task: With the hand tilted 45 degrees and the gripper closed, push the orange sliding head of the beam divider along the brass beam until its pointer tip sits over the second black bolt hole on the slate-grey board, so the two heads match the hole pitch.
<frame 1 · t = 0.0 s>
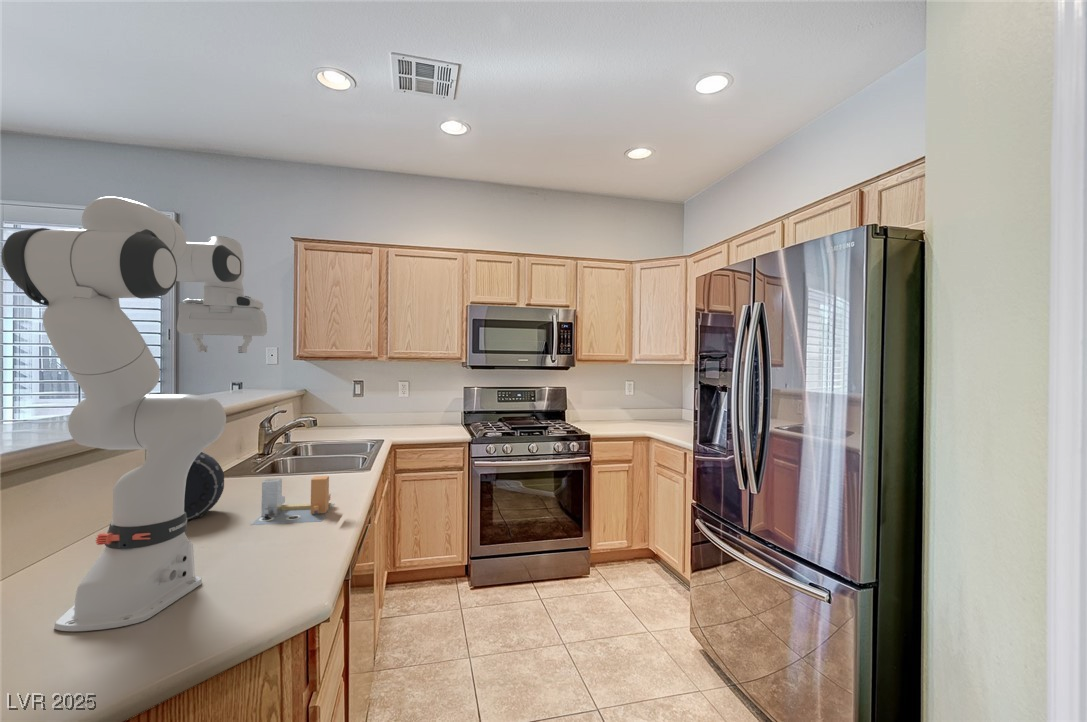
hand: (222, 352, 125), 48 cm above the countertop, tool pointing down, fingers open, 8 cm apart
sliding head: (320, 493, 142), point 6 cm above the countertop, slide at 0.0 cm
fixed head: (271, 514, 138), resting on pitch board
dark rounded piece: (181, 521, 135), on the countertop
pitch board: (295, 517, 139), on the countertop
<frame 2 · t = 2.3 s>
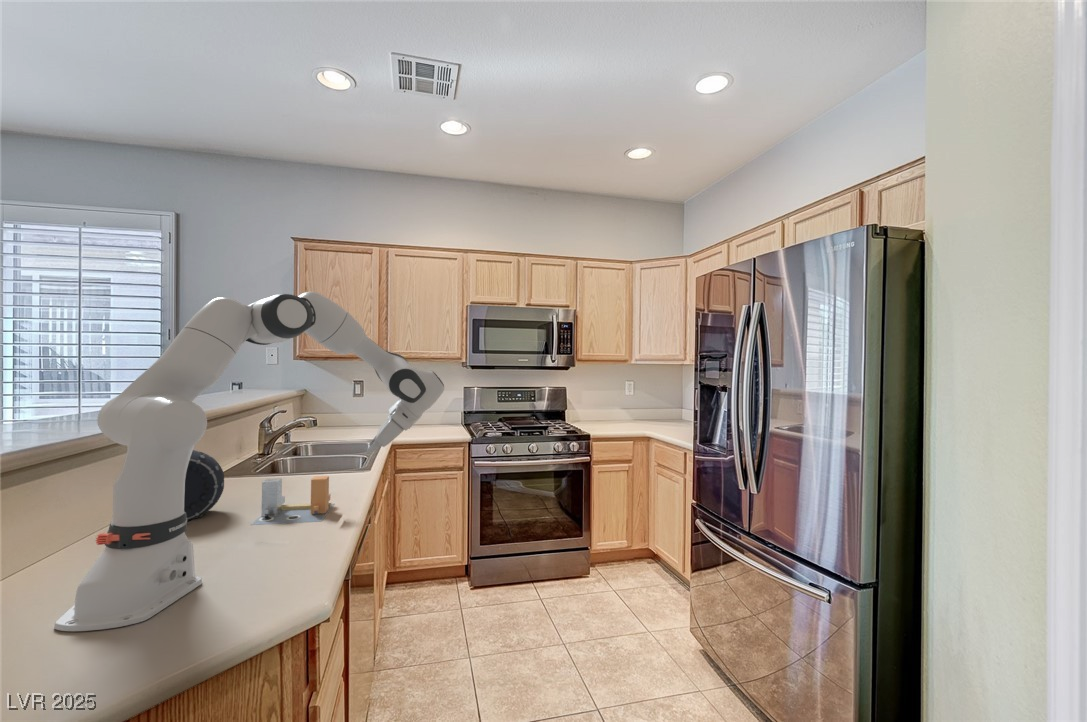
hand: (369, 448, 145), 20 cm above the countertop, tool tilted 45°, fingers open, 8 cm apart
nothing on the countertop moved.
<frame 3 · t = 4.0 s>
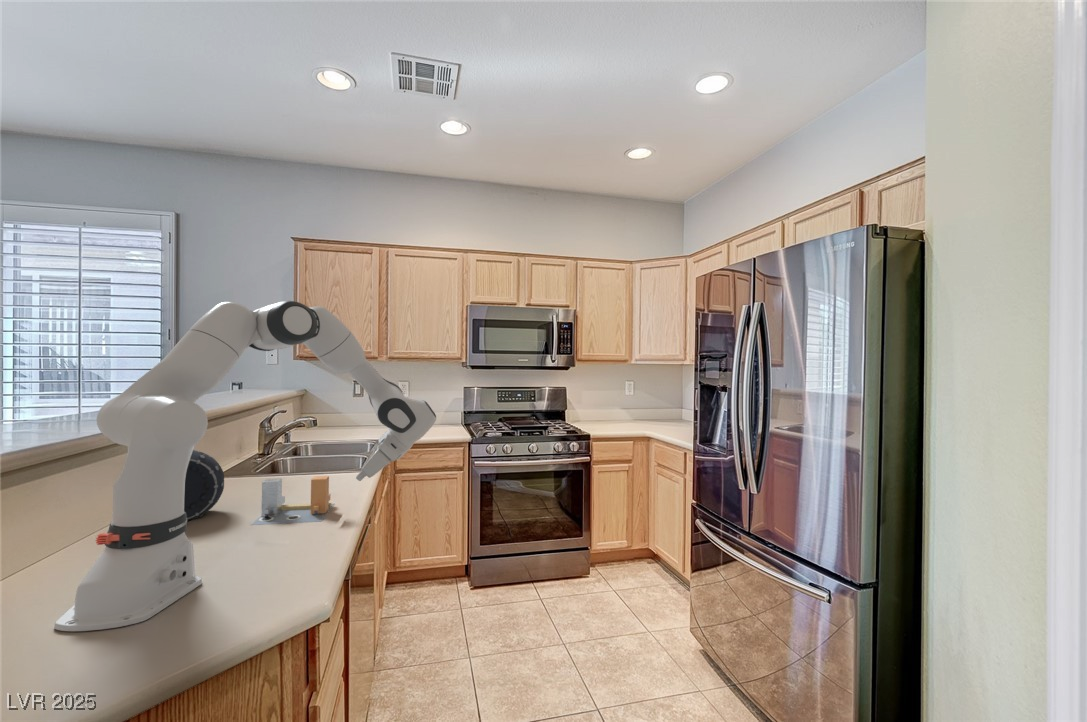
hand: (358, 478, 143), 11 cm above the countertop, tool tilted 45°, fingers closed
nothing on the countertop moved.
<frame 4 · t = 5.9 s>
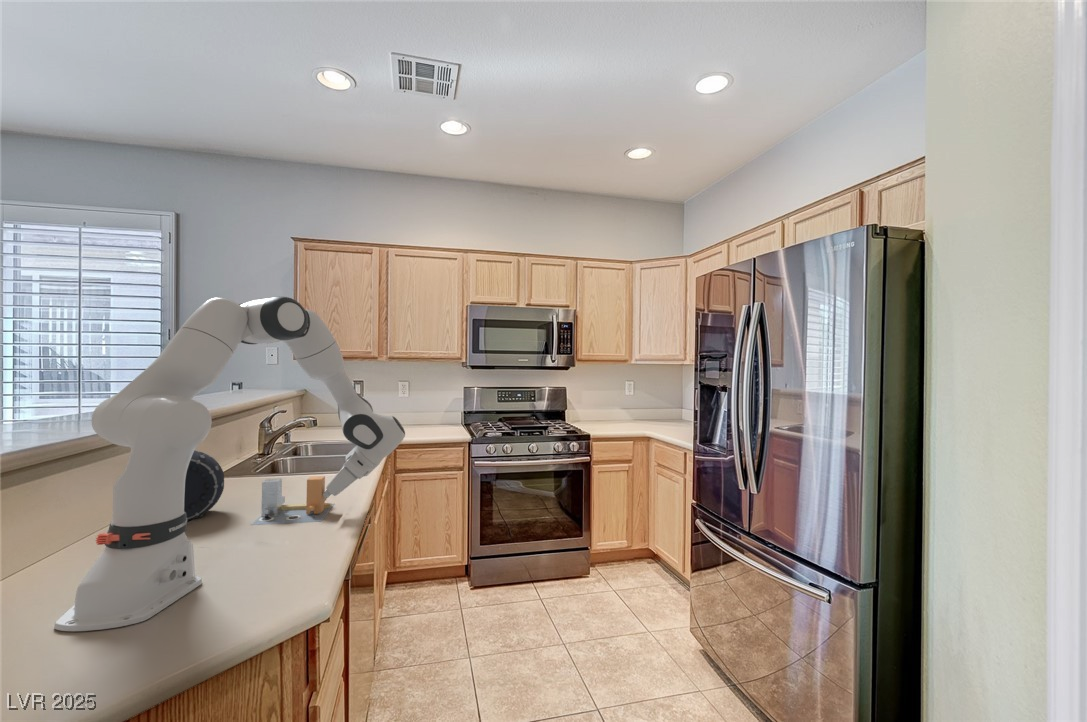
hand: (325, 495, 141), 6 cm above the countertop, tool tilted 45°, fingers closed, pressing on sliding head
sliding head: (316, 493, 141), point 6 cm above the countertop, slide at 1.1 cm, touching gripper
everything else where it was.
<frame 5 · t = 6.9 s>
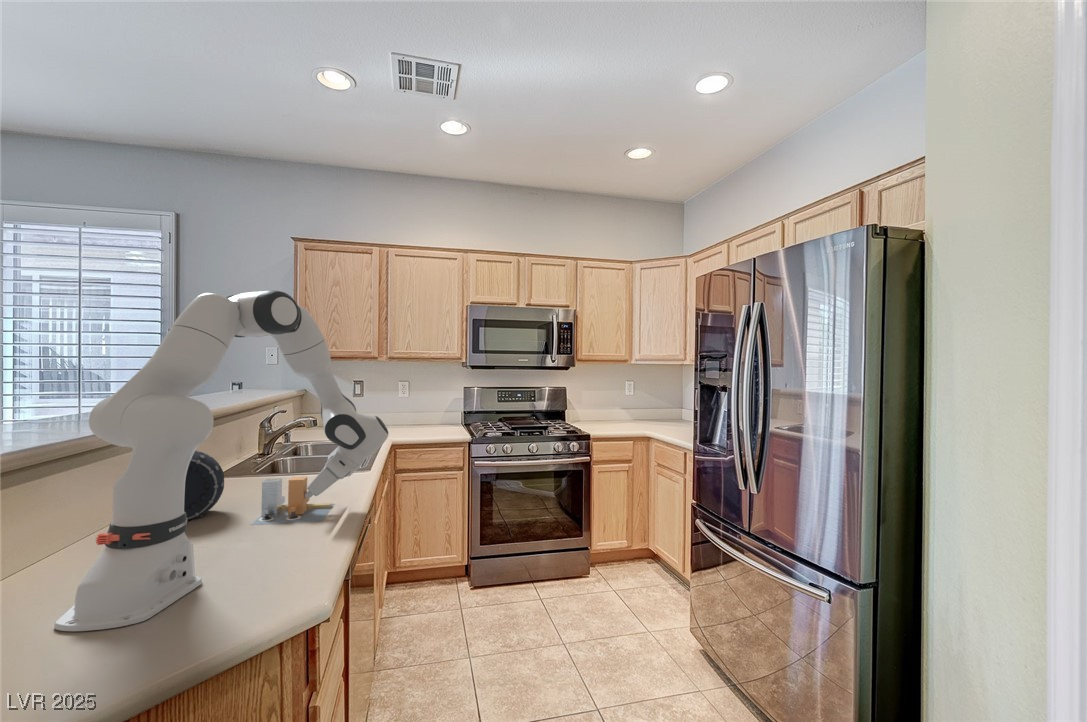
hand: (307, 496, 140), 6 cm above the countertop, tool tilted 45°, fingers closed, pressing on sliding head
sliding head: (298, 494, 140), point 6 cm above the countertop, slide at 6.1 cm, touching gripper
everything else where it was.
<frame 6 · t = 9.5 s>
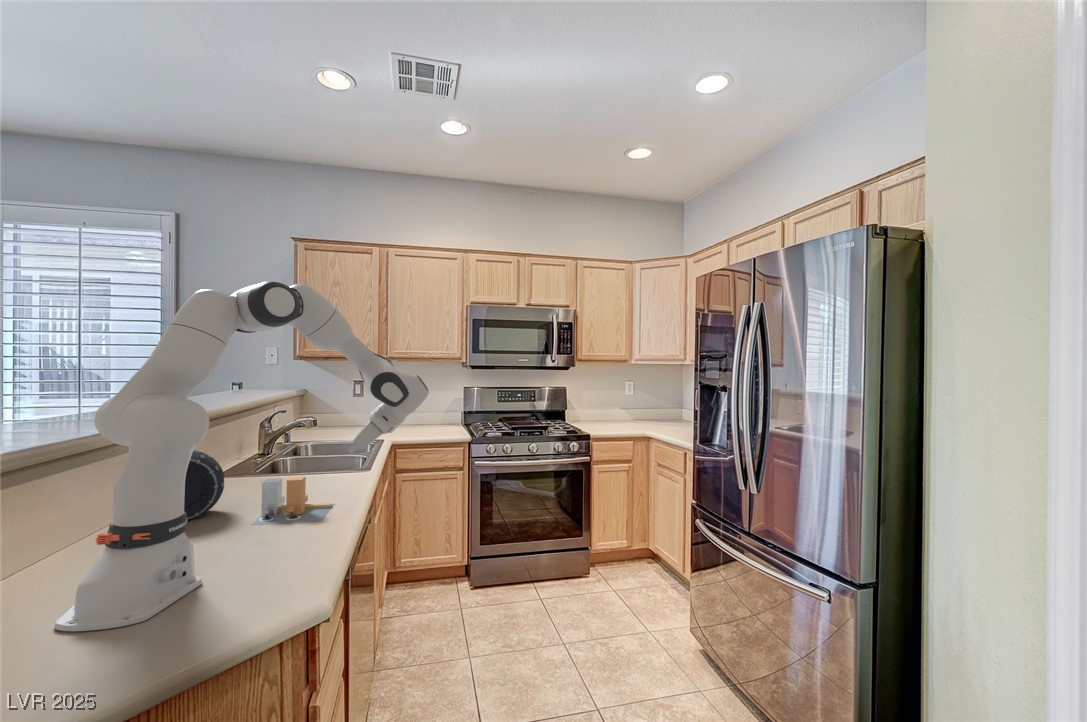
hand: (350, 451, 142), 19 cm above the countertop, tool tilted 45°, fingers closed
sliding head: (297, 494, 140), point 6 cm above the countertop, slide at 6.5 cm
everything else where it was.
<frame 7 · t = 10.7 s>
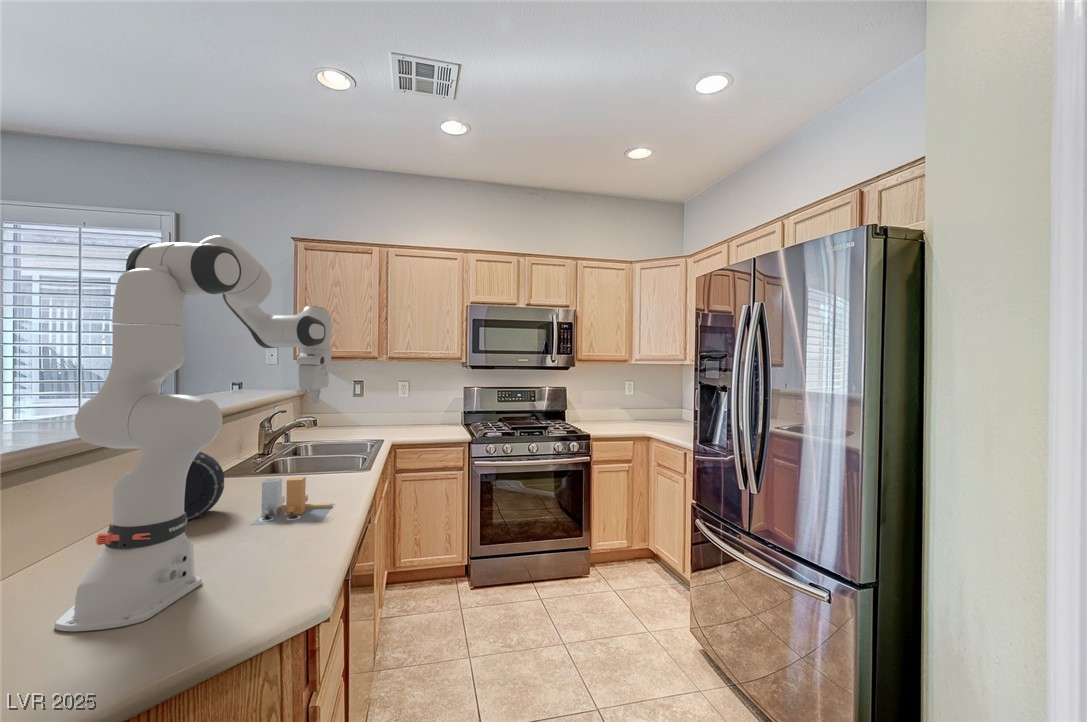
hand: (314, 403, 148), 33 cm above the countertop, tool pointing down, fingers closed
nothing on the countertop moved.
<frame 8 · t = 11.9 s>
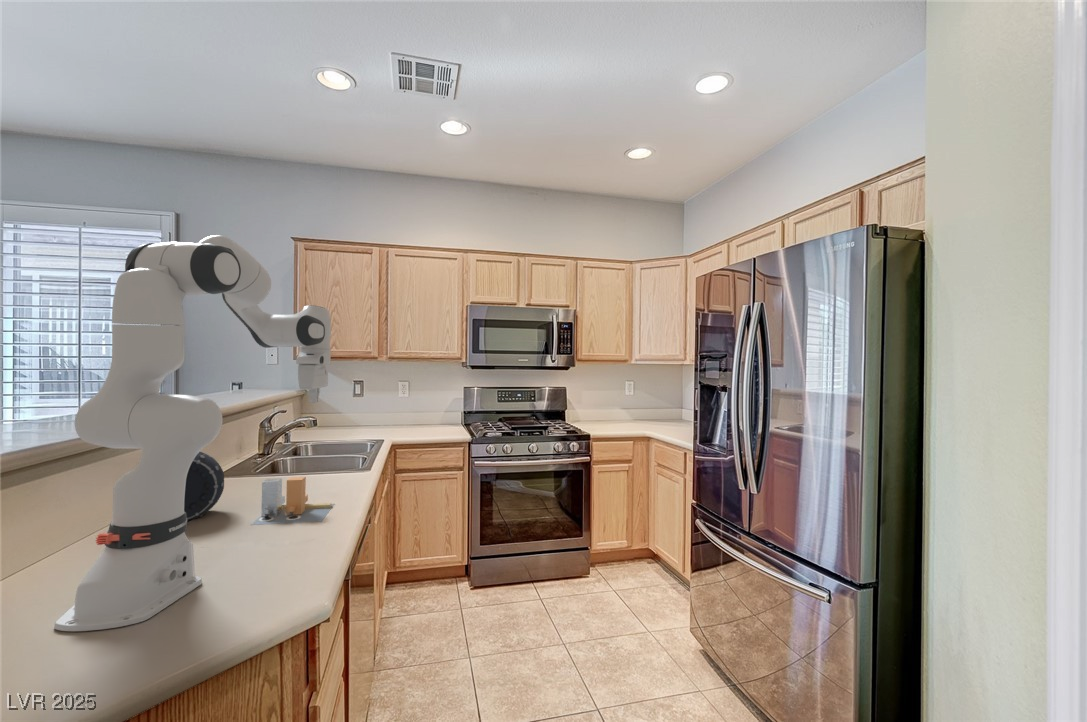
hand: (314, 402, 148), 33 cm above the countertop, tool pointing down, fingers closed
nothing on the countertop moved.
at the end: sliding head slide at 6.5 cm; sliding head 0.5 cm from the target spot, point 6.5 cm above the countertop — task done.
